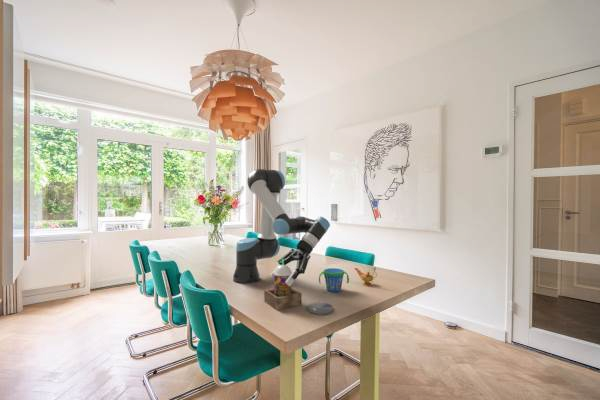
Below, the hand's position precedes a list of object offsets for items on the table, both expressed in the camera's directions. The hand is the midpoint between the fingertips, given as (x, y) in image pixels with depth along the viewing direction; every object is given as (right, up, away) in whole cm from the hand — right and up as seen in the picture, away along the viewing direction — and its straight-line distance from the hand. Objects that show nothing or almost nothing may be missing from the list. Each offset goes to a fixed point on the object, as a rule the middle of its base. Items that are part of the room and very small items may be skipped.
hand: (279, 280), depth 125 cm
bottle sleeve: (+1, -10, +1) cm, 11 cm away
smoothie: (+1, -11, +1) cm, 11 cm away
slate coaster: (+18, -11, -6) cm, 22 cm away
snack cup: (+27, -11, +19) cm, 35 cm away
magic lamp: (+46, -11, +31) cm, 56 cm away
